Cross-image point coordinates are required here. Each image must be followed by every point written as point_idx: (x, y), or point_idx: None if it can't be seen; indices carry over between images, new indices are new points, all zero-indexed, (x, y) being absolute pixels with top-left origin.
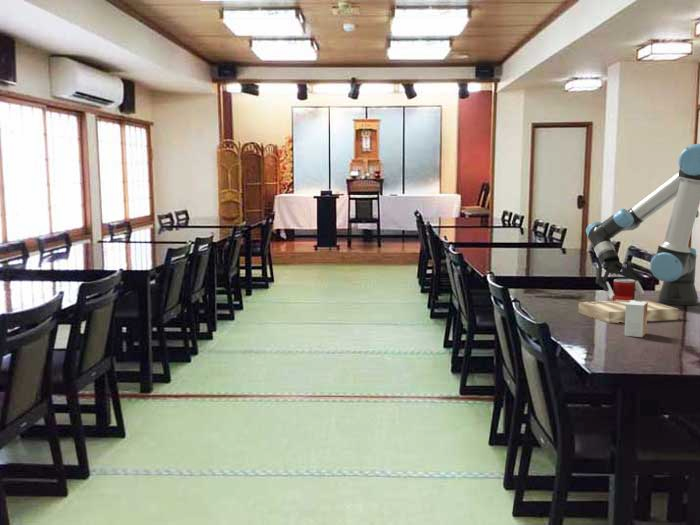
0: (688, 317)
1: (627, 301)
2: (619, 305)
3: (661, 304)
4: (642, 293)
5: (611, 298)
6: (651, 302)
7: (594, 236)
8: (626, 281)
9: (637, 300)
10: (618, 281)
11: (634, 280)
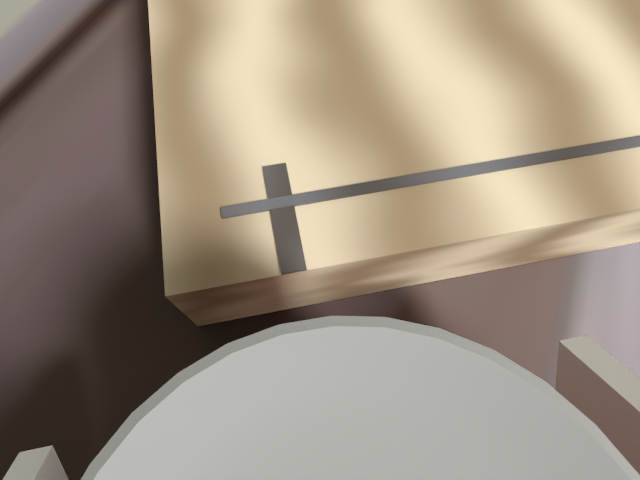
0: (46, 33)
1: (423, 172)
2: (558, 9)
3: (158, 36)
4: (51, 462)
5: None
6: (188, 124)
7: None
8: (411, 326)
9: (285, 219)
10: (605, 452)
11: (117, 446)
